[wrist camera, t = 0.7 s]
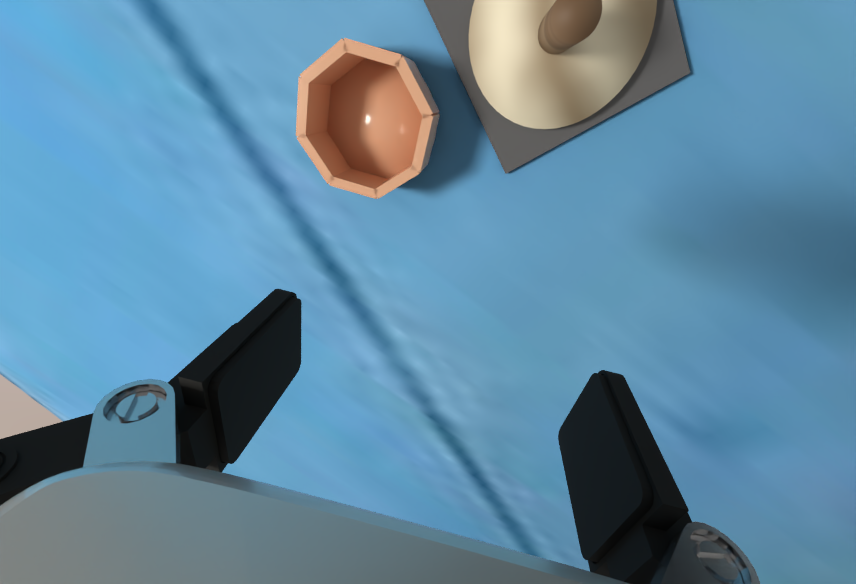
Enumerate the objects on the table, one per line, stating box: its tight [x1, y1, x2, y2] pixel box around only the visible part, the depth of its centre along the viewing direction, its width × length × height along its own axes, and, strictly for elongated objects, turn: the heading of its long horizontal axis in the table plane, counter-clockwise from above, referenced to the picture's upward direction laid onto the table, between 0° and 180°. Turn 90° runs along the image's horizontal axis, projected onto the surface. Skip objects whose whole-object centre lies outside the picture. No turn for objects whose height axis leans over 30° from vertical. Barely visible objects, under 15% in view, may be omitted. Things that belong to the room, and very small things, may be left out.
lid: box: [469, 0, 657, 129], centre depth 23 cm, size 13×13×7 cm
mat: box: [424, 0, 690, 173], centre depth 26 cm, size 15×15×1 cm
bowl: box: [296, 38, 440, 199], centre depth 29 cm, size 11×11×5 cm
